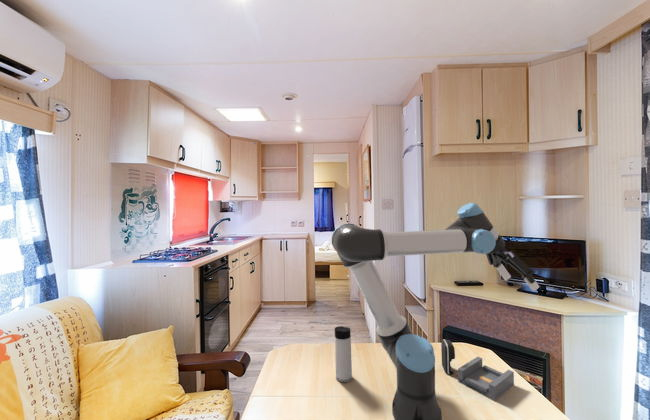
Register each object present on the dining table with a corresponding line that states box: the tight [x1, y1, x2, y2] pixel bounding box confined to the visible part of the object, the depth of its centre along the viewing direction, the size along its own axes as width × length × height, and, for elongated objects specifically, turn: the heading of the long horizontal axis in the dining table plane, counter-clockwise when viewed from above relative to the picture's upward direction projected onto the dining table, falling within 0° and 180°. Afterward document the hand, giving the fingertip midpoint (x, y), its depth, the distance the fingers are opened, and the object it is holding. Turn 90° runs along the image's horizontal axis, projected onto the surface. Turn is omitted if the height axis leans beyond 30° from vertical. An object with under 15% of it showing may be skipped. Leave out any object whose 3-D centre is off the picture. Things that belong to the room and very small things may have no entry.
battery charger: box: [440, 339, 456, 375], centre depth 114 cm, size 7×4×11 cm, turn 171°
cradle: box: [457, 356, 515, 402], centre depth 105 cm, size 14×13×5 cm
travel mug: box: [334, 325, 353, 383], centre depth 111 cm, size 6×7×20 cm
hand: (521, 283), depth 107 cm, fingers open, 13 cm apart
